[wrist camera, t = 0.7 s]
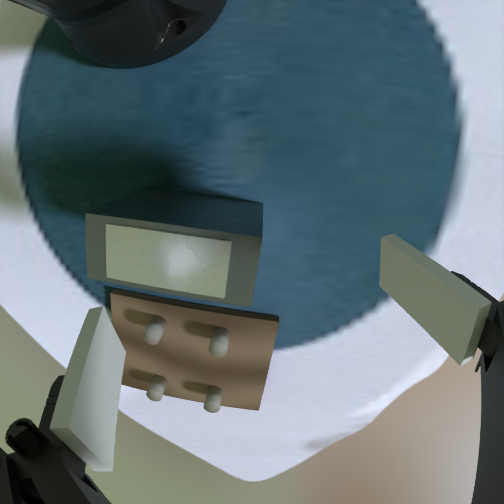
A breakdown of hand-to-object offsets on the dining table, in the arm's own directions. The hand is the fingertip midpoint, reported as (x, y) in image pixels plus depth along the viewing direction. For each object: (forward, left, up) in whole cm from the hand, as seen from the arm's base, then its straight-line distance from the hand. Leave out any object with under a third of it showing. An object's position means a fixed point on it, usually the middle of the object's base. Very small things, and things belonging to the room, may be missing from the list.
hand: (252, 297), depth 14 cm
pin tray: (+14, -5, -13) cm, 20 cm away
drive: (0, -5, -13) cm, 14 cm away
